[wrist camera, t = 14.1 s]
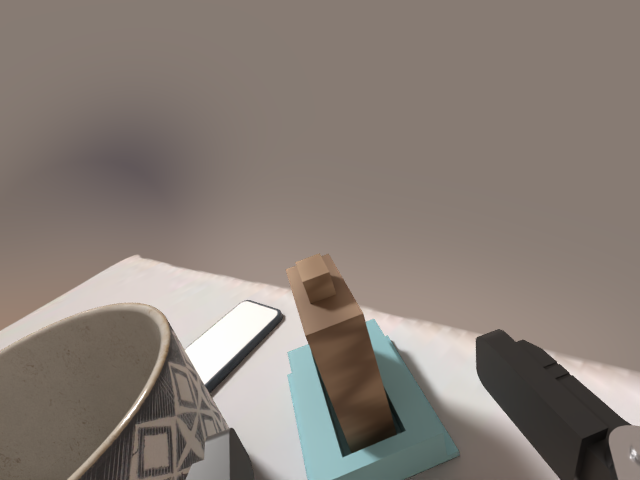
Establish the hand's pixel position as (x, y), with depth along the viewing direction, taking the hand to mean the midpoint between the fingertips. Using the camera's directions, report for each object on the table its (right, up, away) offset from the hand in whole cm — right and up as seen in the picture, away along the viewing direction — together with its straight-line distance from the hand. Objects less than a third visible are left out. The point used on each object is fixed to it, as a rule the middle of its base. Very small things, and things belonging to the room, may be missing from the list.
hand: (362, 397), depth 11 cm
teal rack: (+2, -11, +22) cm, 25 cm away
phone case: (-14, -10, +36) cm, 40 cm away
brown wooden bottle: (+2, -11, +22) cm, 25 cm away
